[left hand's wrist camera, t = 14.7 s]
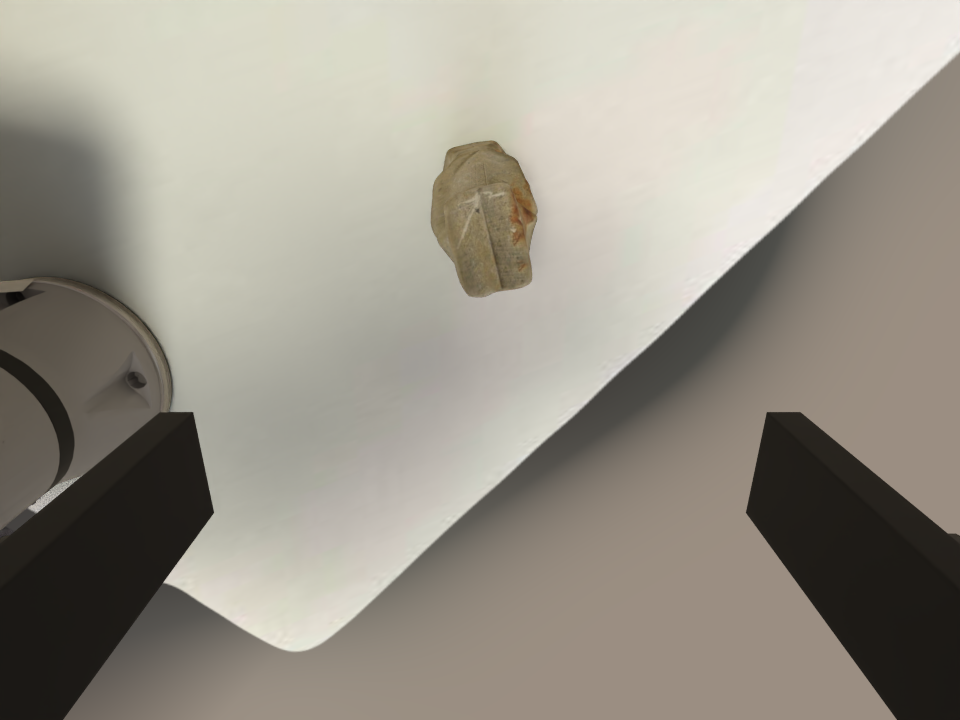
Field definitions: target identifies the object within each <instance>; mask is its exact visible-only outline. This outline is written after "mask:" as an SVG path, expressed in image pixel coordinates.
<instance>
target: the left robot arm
mask: <svg viewBox="0 0 960 720" xmlns="http://www.w3.org/2000/svg"><path fill="white" fill-rule="evenodd" d="M171 394H172V389H171V378H170V373H169V369H168V365H167V362H166V359H165V357H164V355H163V353H162V350H161V348H160V347H159V345H158V343H157V341H156V340H155V338H154V337H153V335H152V334H151V332H150V331H149V330H148V329H147V327H146V326H145V325H144V324H143V323H142V322H141V321H140V320H139V318H138V317H137V316H136V315H134V314H133V313H132V312H131V311H130V310H129V309H128V308H126V307H125V306H124V305H123V304H121V303H120V302H119V301H117V300H115V299H114V298H112V297H111V296H109V295H107V294H105V293H104V292H102V291H100V290H98V289H95V288H93V287H91V286H88V285H86V284H83V283H80V282H76V281H72V280H69V279H63V278H55V277H34V278H27V279H22V280H11V281H0V530H1V529H3V528H4V527H5V526H6V525H7V524H9V523H10V522H11V521H12V520H13V519H15V518H16V517H17V516H18V515H20V514H21V513H22V512H23V511H24V510H26V509H27V508H28V507H29V506H30V505H33V504H35V503H36V500H38V499H39V498H40V497H41V496H42V495H44V494H45V493H46V492H47V491H49V490H50V489H51V488H53V487H54V486H55V485H57V484H58V483H61V482H64V481H67V480H70V479H73V478H76V477H79V476H81V475H83V476H82V477H80V478H79V479H78V480H77V481H76V482H74V483H73V484H72V485H71V486H70V487H68V488H67V489H66V490H65V491H63V492H62V493H61V494H60V495H59V496H57V497H56V498H55V499H54V500H53V501H51V502H50V503H49V504H48V505H46V506H45V507H44V508H43V509H42V510H40V511H39V512H38V513H37V514H36V515H34V516H33V517H32V518H31V519H29V520H28V521H27V522H26V523H25V524H23V525H22V526H21V527H20V528H19V529H17V530H16V531H15V532H14V533H12V534H11V535H10V536H3V537H1V538H0V720H63V719H64V718H65V716H66V715H67V713H68V712H69V711H70V709H71V708H72V707H73V705H74V704H75V702H76V701H77V700H78V698H79V697H80V696H81V694H82V693H83V692H84V690H85V689H86V687H87V686H88V685H89V683H90V682H91V681H92V679H93V678H94V676H95V675H96V674H97V672H98V671H99V670H100V668H101V667H102V665H103V664H104V663H105V661H106V660H107V659H108V657H109V656H110V655H111V653H112V652H113V650H114V649H115V648H116V646H117V645H118V644H119V642H120V641H121V639H122V638H123V637H124V635H125V634H126V633H127V631H128V630H129V629H130V627H131V626H132V624H133V623H134V622H135V620H136V619H137V618H138V616H139V615H140V613H141V612H142V611H143V609H144V608H145V607H146V605H147V604H148V602H149V601H150V600H151V598H152V597H153V596H154V594H155V593H156V592H157V590H158V589H159V587H160V586H161V585H162V583H163V582H164V581H165V579H166V578H167V576H168V575H169V574H170V572H171V571H172V570H173V568H174V567H175V565H176V564H177V563H178V561H179V560H180V559H181V557H182V556H183V555H184V553H185V552H186V550H187V549H188V548H189V546H190V545H191V544H192V542H193V541H194V539H195V538H196V537H197V535H198V534H199V533H200V531H201V530H202V528H203V527H204V526H205V524H206V523H207V522H208V520H209V519H210V518H211V516H212V515H213V513H214V510H213V506H212V501H211V496H210V491H209V486H208V482H207V477H206V472H205V467H204V462H203V458H202V453H201V448H200V443H199V438H198V433H197V429H196V424H195V419H194V414H193V412H168V411H169V408H170V403H171ZM746 513H747V515H748V516H749V517H750V519H751V520H752V522H753V523H754V524H755V526H756V527H757V528H758V530H759V531H760V533H761V534H762V535H763V537H764V538H765V539H766V541H767V542H768V544H769V545H770V546H771V548H772V549H773V550H774V552H775V553H776V554H777V556H778V557H779V559H780V560H781V561H782V563H783V564H784V565H785V567H786V568H787V570H788V571H789V572H790V574H791V575H792V576H793V578H794V579H795V581H796V582H797V583H798V585H799V586H800V587H801V589H802V590H803V592H804V593H805V594H806V596H807V597H808V598H809V600H810V601H811V602H812V604H813V605H814V606H815V608H816V609H817V611H818V612H819V613H820V615H821V616H822V618H823V619H824V620H825V622H826V623H827V624H828V626H829V627H830V629H831V630H832V631H833V632H834V634H835V635H836V637H837V638H838V639H839V641H840V642H841V644H842V645H843V646H844V648H845V649H846V650H847V652H848V653H849V654H850V656H851V657H852V659H853V660H854V661H855V663H856V664H857V665H858V667H859V668H860V669H861V671H862V672H863V674H864V675H865V676H866V678H867V679H868V681H869V682H870V683H871V685H872V686H873V687H874V689H875V690H876V692H877V693H878V694H879V696H880V697H881V698H882V700H883V701H884V702H885V704H886V705H887V707H888V708H889V709H890V711H891V712H892V713H893V715H894V716H895V718H896V719H897V720H960V536H959V535H957V534H948V533H946V532H945V531H944V530H943V529H941V528H940V527H939V526H938V525H937V524H935V523H934V522H933V521H932V520H931V519H929V518H928V517H927V516H926V515H924V514H923V513H922V512H921V511H920V510H918V509H917V508H916V507H915V506H914V505H912V504H911V503H910V502H909V501H907V500H906V499H905V498H904V497H903V496H901V495H900V494H899V493H898V492H897V491H895V490H894V489H893V488H892V487H890V486H889V485H888V484H887V483H886V482H884V481H883V480H882V479H881V478H880V477H878V476H877V475H876V474H875V473H873V472H872V471H871V470H870V469H869V468H867V467H866V466H865V465H864V464H863V463H861V462H860V461H859V460H858V459H857V458H855V457H854V456H853V455H852V454H850V453H849V452H848V451H847V450H846V449H844V448H843V447H842V446H841V445H839V444H838V443H837V442H836V441H835V440H833V439H832V438H831V437H830V436H829V435H827V434H826V433H825V432H824V431H823V430H821V429H820V428H819V427H818V426H816V425H815V424H814V423H813V422H812V421H810V420H809V419H808V418H807V417H806V416H804V415H803V414H802V413H801V412H767V414H766V419H765V424H764V429H763V433H762V438H761V443H760V448H759V453H758V458H757V462H756V467H755V472H754V477H753V482H752V486H751V491H750V496H749V501H748V506H747V510H746Z"/></svg>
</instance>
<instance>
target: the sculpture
mask: <svg viewBox="0 0 960 720" xmlns="http://www.w3.org/2000/svg"><path fill="white" fill-rule="evenodd" d="M537 212H538V210H537V206H536V203H535V201H534V198H533V196H532V193H531V190H530V186H529V184H528V182H527V180H526V179H525V177H524V174H523V172H522V170H521V168H520V166H519V163H518V161H517V160H516V159H515V158H513V157H511V156H509V155H507V154H505V152H504V151H503V149H502V148H501V146H500V145H499V144H498V143H497V142H495V141H484V142H476V143H471V144H467V145H462V146H458V147H454V148H451V149H449V150H448V152H447V154H446V157H445V163H444V168H443V172H442V173H441V174H440V175H439V176H438V177H437V179H436V180H435V182H434V186H433V199H432V210H431V226H432V229H433V232H434V234H435V236H436V237H437V240H438V242H439V245H440V246H441V247H442V249H443V250H444V251H445V252H446V253H447V255H448V256H449V257H450V258H451V260H452V261H453V262H454V263H455V267H456V271H457V274H458V278H459V281H460V283H461V285H462V287H463V289H464V290H465V292H466V293H467V294H468V296H471V297H486V296H488V295H490V294H492V293H495V292H499V291H505V290H513V289H518V288H522V287H525V286H526V285H528V284H530V282H531V280H532V268H531V262H530V256H529V250H530V243H531V238H532V234H533V230H534V227H535V224H536V222H537V216H536V215H537Z"/></svg>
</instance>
